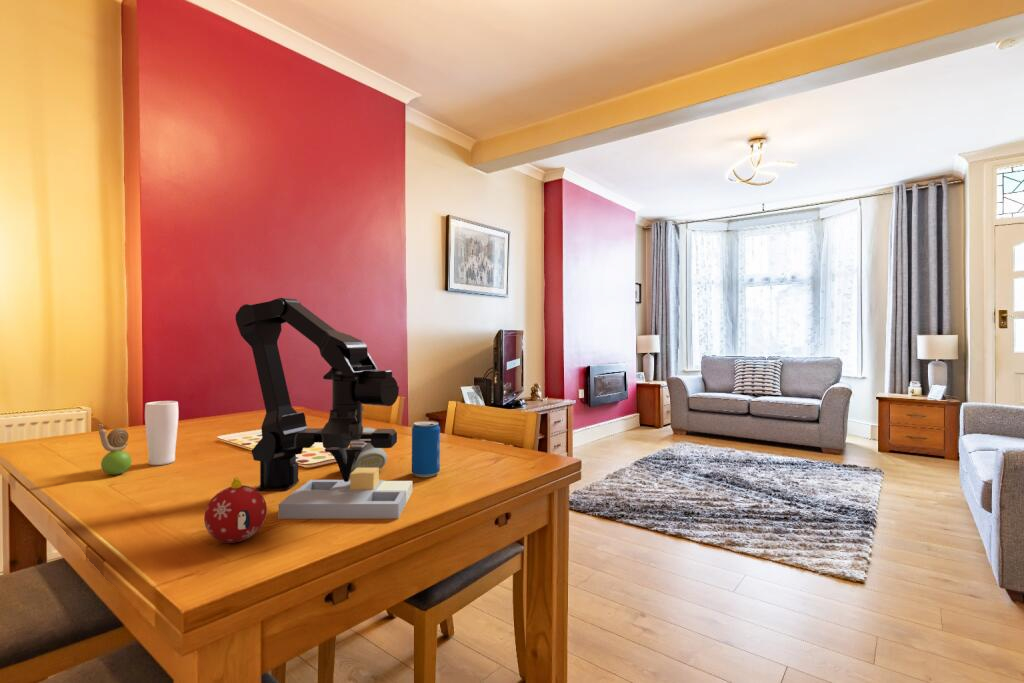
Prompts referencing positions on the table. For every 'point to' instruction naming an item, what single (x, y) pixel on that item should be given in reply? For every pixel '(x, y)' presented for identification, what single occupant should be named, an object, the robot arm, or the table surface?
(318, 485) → the trap board
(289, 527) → the table surface
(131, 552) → the table surface
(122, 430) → the snail figurine
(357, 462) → the air freshener
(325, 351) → the robot arm
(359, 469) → the ochre block
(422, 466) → the beverage can
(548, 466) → the table surface
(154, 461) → the drinking glass
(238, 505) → the christmas ornament
